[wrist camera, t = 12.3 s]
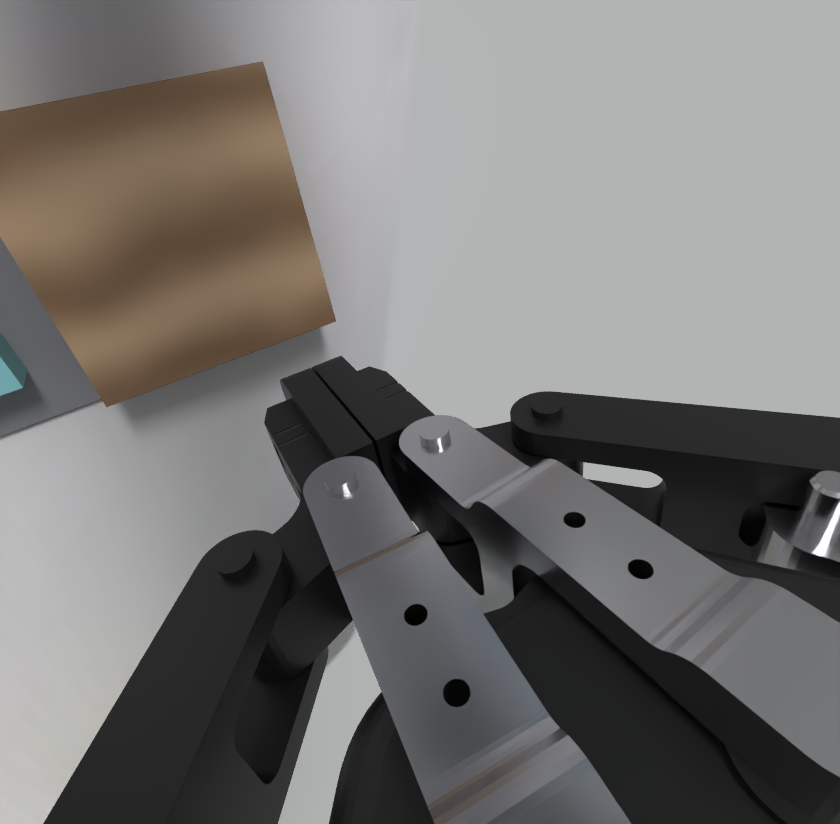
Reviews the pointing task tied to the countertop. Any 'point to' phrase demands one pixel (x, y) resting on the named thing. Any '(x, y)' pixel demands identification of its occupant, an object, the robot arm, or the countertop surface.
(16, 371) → the teal foam pad
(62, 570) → the countertop surface
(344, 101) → the countertop surface
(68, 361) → the mat
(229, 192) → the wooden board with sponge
